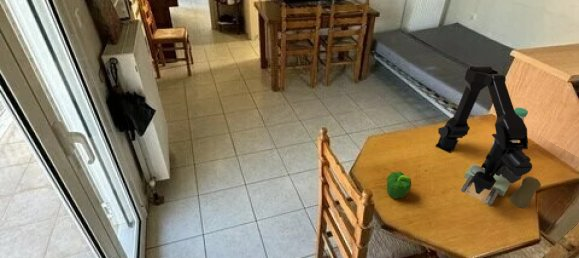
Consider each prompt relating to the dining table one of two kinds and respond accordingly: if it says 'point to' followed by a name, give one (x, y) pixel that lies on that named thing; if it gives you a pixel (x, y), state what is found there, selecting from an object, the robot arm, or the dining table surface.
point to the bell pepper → (398, 184)
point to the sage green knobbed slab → (500, 181)
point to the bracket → (494, 191)
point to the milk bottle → (521, 113)
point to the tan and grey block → (483, 194)
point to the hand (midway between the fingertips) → (482, 186)
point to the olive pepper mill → (525, 192)
